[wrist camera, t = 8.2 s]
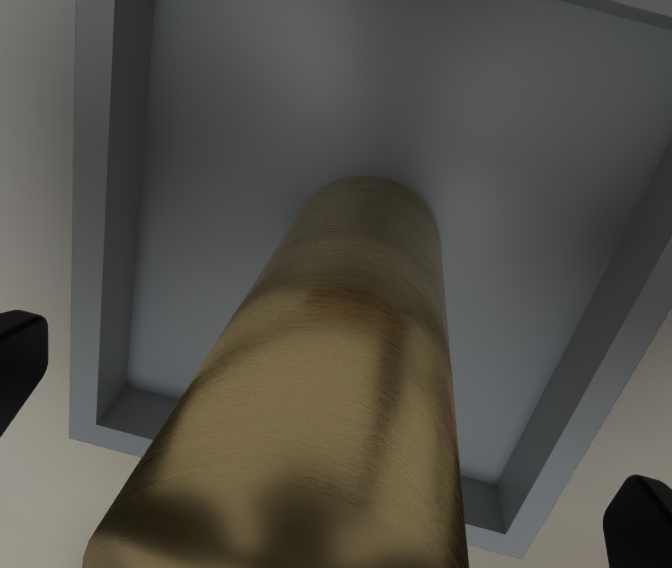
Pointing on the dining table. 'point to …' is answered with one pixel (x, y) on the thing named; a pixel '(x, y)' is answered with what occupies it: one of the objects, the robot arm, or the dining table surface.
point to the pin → (313, 411)
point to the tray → (392, 164)
